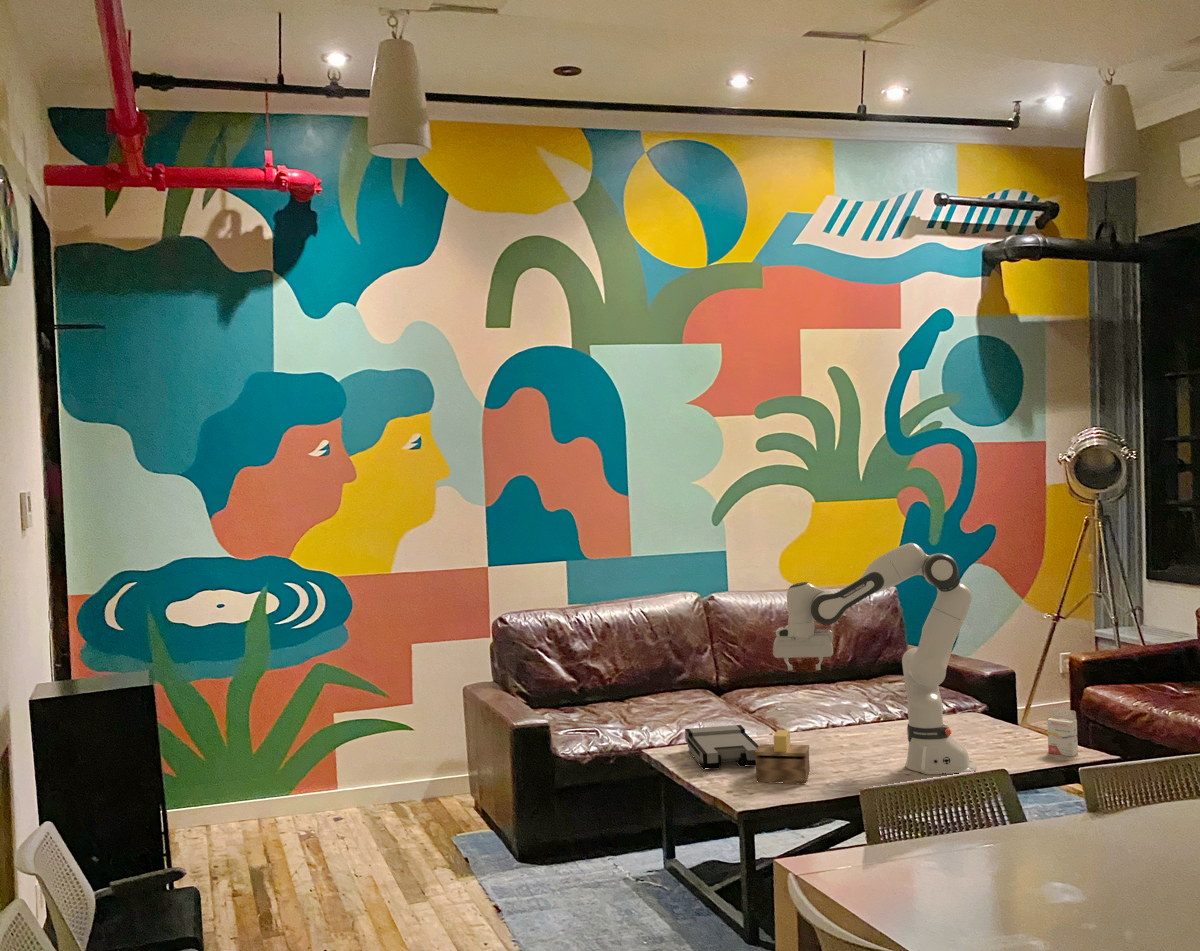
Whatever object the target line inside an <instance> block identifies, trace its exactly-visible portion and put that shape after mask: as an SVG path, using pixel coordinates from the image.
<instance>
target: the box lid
mask: <svg viewBox="0 0 1200 951" xmlns="http://www.w3.org/2000/svg"><path fill="white" fill-rule="evenodd" d="M758 745H759V746H758V748H757V749H756V751H755V752H754V754H755V755H767V756H806V754H807V752H808V750H809V751H810V745H809V744H808V745H807V744H790V747H789V749H788V750H787V752H774V743H773V744H772V743H771V744H767V743H760V744H758Z"/></svg>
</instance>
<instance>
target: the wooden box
mask: <svg viewBox="0 0 1200 951" xmlns="http://www.w3.org/2000/svg"><path fill="white" fill-rule="evenodd" d="M755 760H756V766H755V777H756V778H755V779H756V781H755V782H756V783H757V781H758V782H783V783H782V784H788V783H806V782H807V783H808V780H809V776H810V773H809V772H811V770H810V767H811V766H810V749H809V750H808V752H807V754H806V756H767V755H757V756H756V758H755ZM808 775H809V776H808ZM807 779H808V780H807ZM807 783H806V784H807Z"/></svg>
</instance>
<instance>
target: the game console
mask: <svg viewBox="0 0 1200 951" xmlns="http://www.w3.org/2000/svg"><path fill="white" fill-rule="evenodd" d="M684 738H685V740H684V741H685V744H687V747H688V752H689V754H690V753H691V754H692V755H693V756H694V757H693V756H692V755H691V754H690V755H691V756H692V757H693V759H694V758H695V759H696V760H697V761H698V763H699V764H700V765H701V767H702V768H703V769H705V768H719V767H720V768H721V767H722V763H723V762H736V764H737V763H738V764H739V765H740V766H745V765H756V760H755V758H756V756H757V755H755V754H754V752H755V751H756V749H757V748H758V746H759V745H760V744H758V743H757V742H755V741H754V739H752V737H751V736H750V735H748V734H747V733H746V729H745V727H744V726H742V725H741V724H736V725H735V724H733V725H719V726H707V727H706V726H705V727H691V728H690V727H689V728H684ZM695 759H694V760H695ZM696 760H695V761H696ZM697 761H696V762H697ZM698 763H697V764H698ZM699 764H698V765H699ZM738 764H737V765H738ZM700 765H699V766H700ZM739 765H738V766H739ZM740 766H739V767H740ZM701 767H700V768H701ZM745 767H746V766H745ZM702 768H701V769H702ZM720 768H719V769H720ZM703 769H702V770H703Z"/></svg>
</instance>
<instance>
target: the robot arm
mask: <svg viewBox="0 0 1200 951" xmlns="http://www.w3.org/2000/svg"><path fill="white" fill-rule="evenodd" d="M959 572H960V571H959V566H958V564H957V562H956V560H955V559H954V558H953V557H952V556H950V555H948V554H945V553H940V552H939V553H933V554H927V553H925V551H924V549H923V548H922V547H920V546H919V545H918V544H917V543H914V542H908V543H906V544H905V543H904V544H902V545H900V546H897V547H895V548H893V549H891V550H889V551H887V552H885V553H883V554H882V555H880V556H878V557H877V558H876V559H874V560H873V561H872V562H870V564H868V566H867V568H866V570H865V571H864V572H863V574H862V575H861V576H860V577H859V578H858V579H857V580H855V581H854V582H852V583H850V584H849V585H847V586H846V587H844V588H842V589H840V590H839V591H837V592H833V591H829V590H827V589H822V588H820V587H817V586H815V585H813V584H811V583H810V582H809V581H803V582H797V583H794V584H792V585H790V586H789V587H788V589H787V592H786V608H787V609H786V610H787V612H788V619H787V625H784V626H781V627H779V628H777V629H776V630H775V636H776V637H775V638H774V641H773V646H772V647H773V649H772V654H773V657H774V658H777V659H780V658H781V659H782V658H783V661H784V663H785V664H786V666H787V671H793V664H790V662H789V660H790V659H789V658H818V661H819V662H818V663H817V664H815V671H821V664H822V662H823V660H824V658H831V657H832V656H833V654H834V648H833V644H832V643H833V641H834V634H833V631H831V630H829V629H827V628H826V629H819V628H817V629H816V628H815V621H816V622H817V623H819V624H821V625H824V626H827V625H828V626H829V625H833V624H835V623H837V622H838V621H839V620H840V618H841V617H842V615H843V614H844V613H845V612H846V610H848V609H849V608H850V607H852V606H854V605H856V604H858V603H859V602H861V601H863V600H865V599H866V598H868V597H869V596H872V595H873V594H876V593H880V592H883V591H885V590H887V589H891V588H893V587H894V586H898V585H899V584H901V583H902V582H904V581H906V580H908V579H909V578H910V579H911V578H912V577H914V576H921V578H922V579H924V580H925V581H926V582H927V583H928V584H930V585H931V586H934V587H935V588H936V590H937V594H936V597H935V598H936V599H935V601H934V602H933V605H932V606H931V609H930V610H929V613H928V615H927V617H926V620H925V621H924V624H923V626H922V628H921V636H920V639H919V642H918V645H917V647H912V648H909V649H908V650H906V651H905V652H904V654H903V655H902V658H901V664H902V665H901V666H902V672H903V680H904V686H905V692H906V700H907V715H908V716H907V717H908V718H907V719H908V723H907V728H906V736H907V741H908V748H907V757H906V762H905V768H906V769H909V770H911V771H914V772H918V773H922V774H925V775H955V774H954V773H961V772H971V771H975V772H976V771H977V766H976V765H977V764H976V763H975V762H974V761H972V760H971V759H970V758H969V754H968V751H967V749H966V747H965V746H964V745H963V744H961V743H960V742H958V741H957V740H956V739H955V738H953V737H951V735H952V730H951V729H950V727H949V726H948V725H946V724H944V720H943V719H944V718H943V700H942V697H941V692H940V687H939V686H940V685H941V684H942V683H943V682H944V681H945V678H946V675H947V668H948V665H949V661H950V658H951V654H952V651H953V647H954V645H955V644H954V643H955V642H956V639H957V638H958V635H959V633H960V631H961V628H962V626H963V624H964V621H965V620H966V618H967V615H968V612H969V609H970V607H971V602H972V597H973V595H972V591H971V590H970V589H969V587H967V586H966V585H965V584H963V583H962V582H960V574H959ZM942 773H944V774H942ZM945 773H946V774H945Z"/></svg>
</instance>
